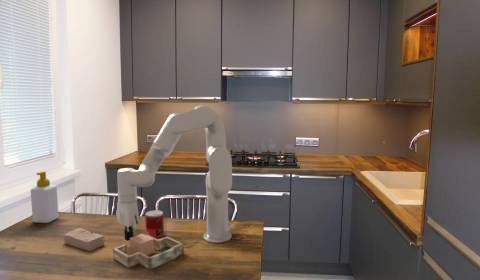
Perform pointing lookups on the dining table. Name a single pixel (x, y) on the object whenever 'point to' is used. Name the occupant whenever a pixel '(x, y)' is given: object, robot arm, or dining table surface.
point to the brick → (83, 239)
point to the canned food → (154, 224)
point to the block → (142, 244)
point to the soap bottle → (44, 200)
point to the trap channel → (165, 244)
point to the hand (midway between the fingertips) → (129, 239)
